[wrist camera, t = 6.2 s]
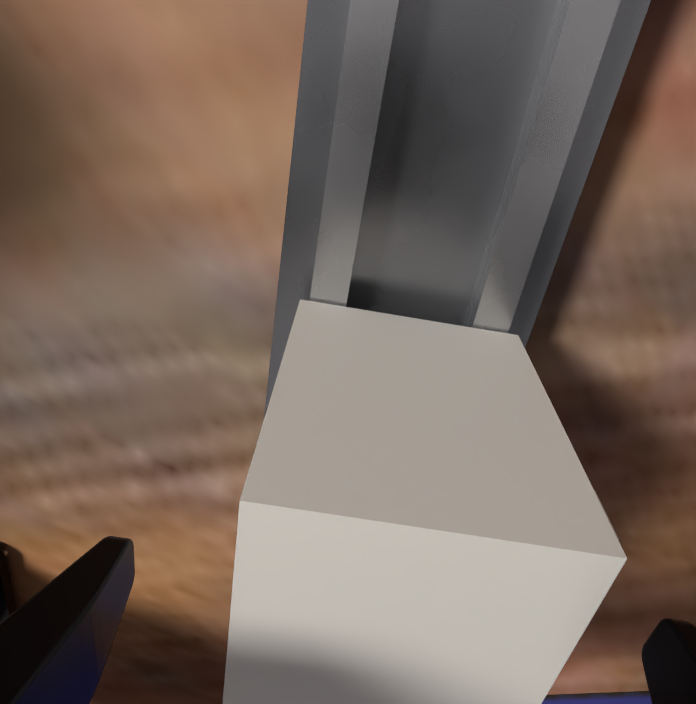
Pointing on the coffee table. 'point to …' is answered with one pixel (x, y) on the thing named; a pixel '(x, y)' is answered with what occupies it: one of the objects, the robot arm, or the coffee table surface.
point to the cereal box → (600, 698)
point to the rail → (444, 154)
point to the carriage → (411, 522)
